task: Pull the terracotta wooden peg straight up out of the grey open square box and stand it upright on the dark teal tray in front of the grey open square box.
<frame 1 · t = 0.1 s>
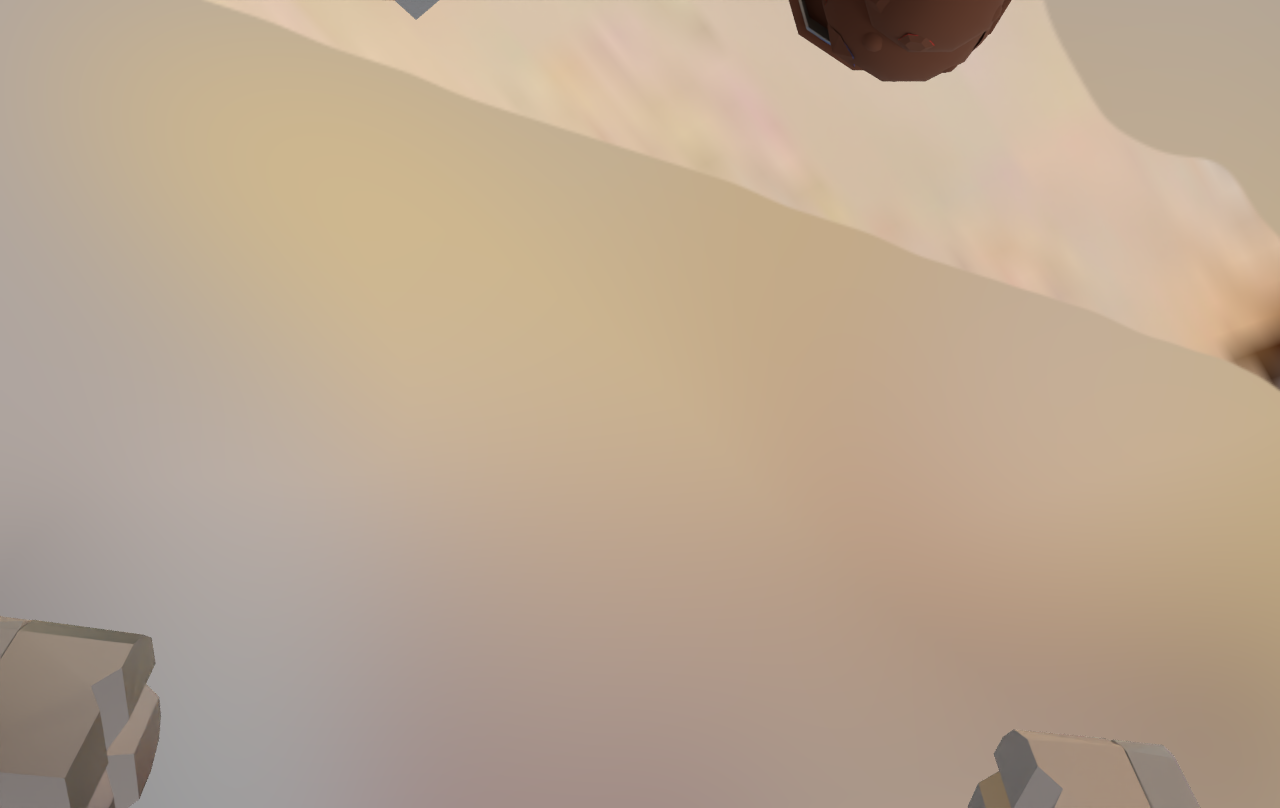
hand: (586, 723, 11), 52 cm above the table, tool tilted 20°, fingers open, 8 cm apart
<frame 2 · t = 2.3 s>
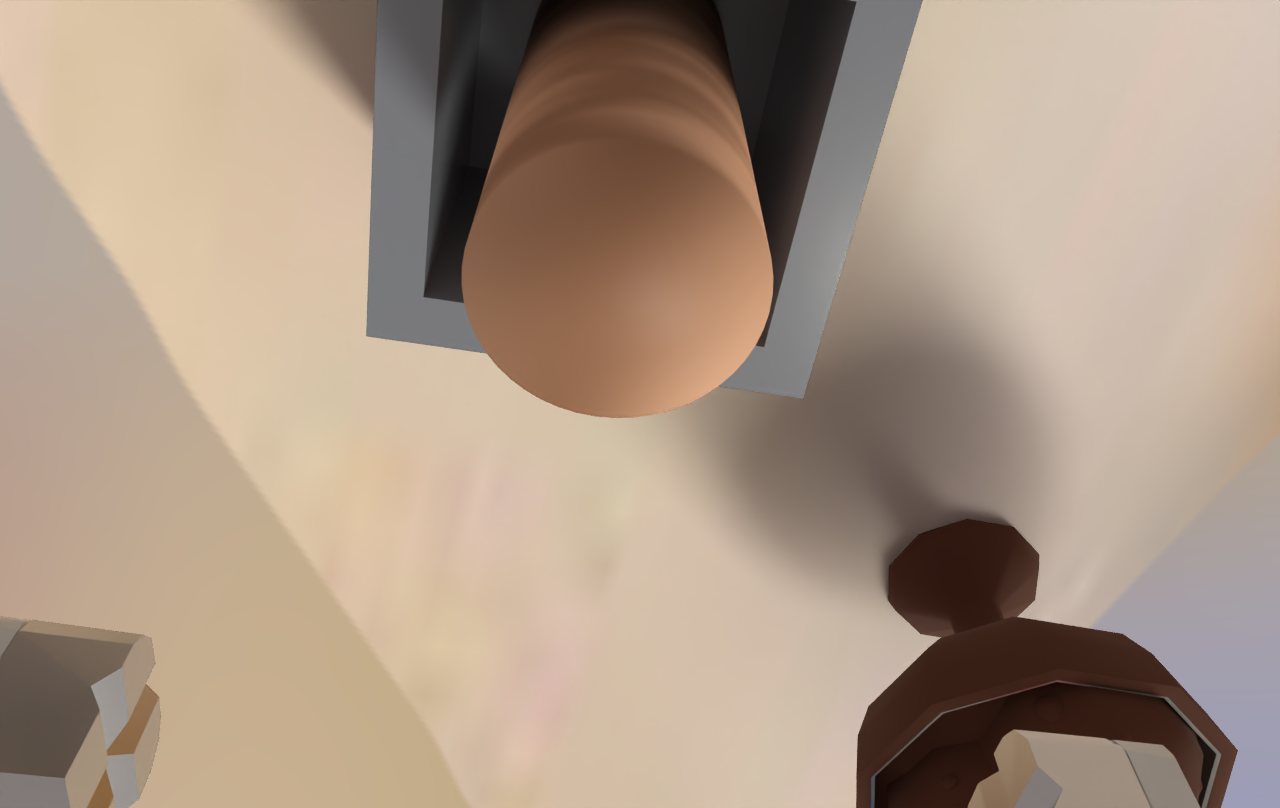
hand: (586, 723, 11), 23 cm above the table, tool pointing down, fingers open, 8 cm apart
ice cream bowl: (961, 574, 40), on the table
grey open square box: (628, 40, 29), on the table
peg: (627, 51, 29), point 1 cm above the table, touching grey open square box
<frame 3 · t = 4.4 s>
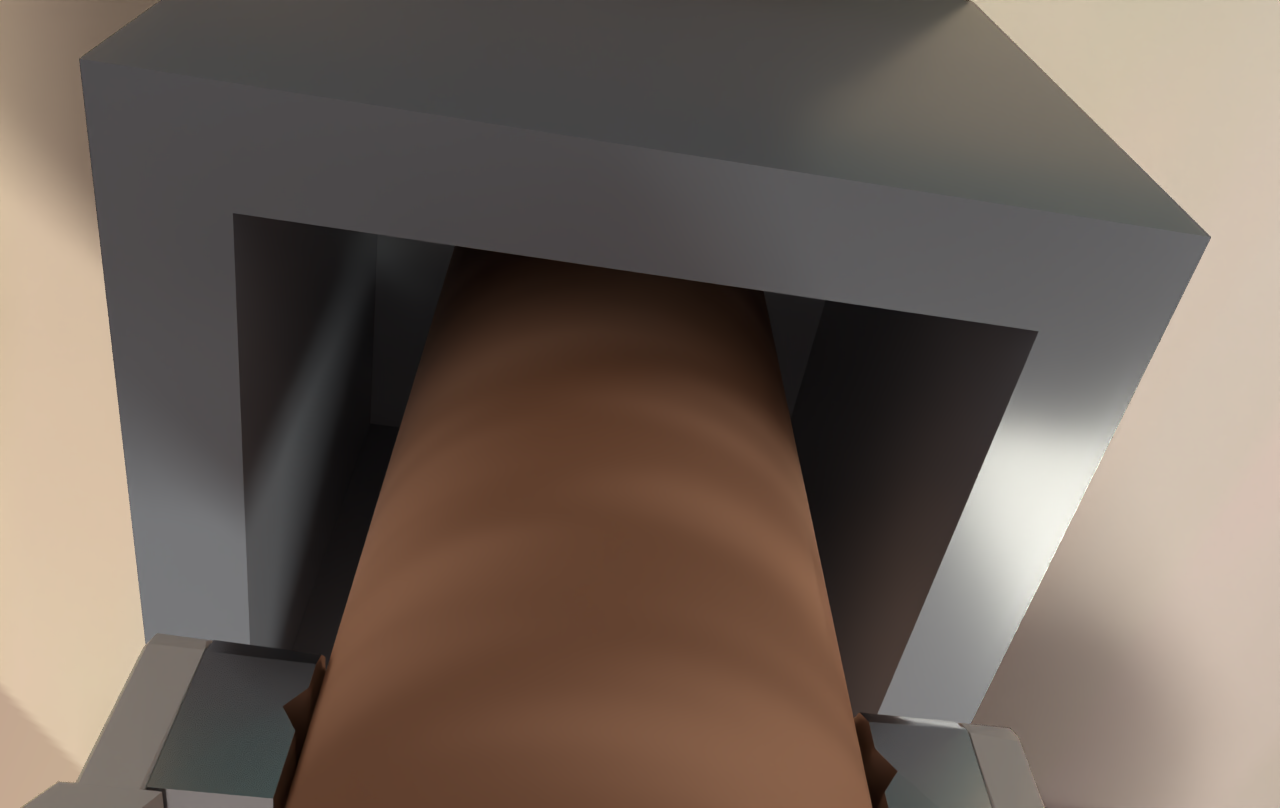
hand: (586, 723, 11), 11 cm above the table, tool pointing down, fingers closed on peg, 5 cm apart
grey open square box: (606, 244, 19), on the table
peg: (605, 270, 19), point 1 cm above the table, touching grey open square box, gripper
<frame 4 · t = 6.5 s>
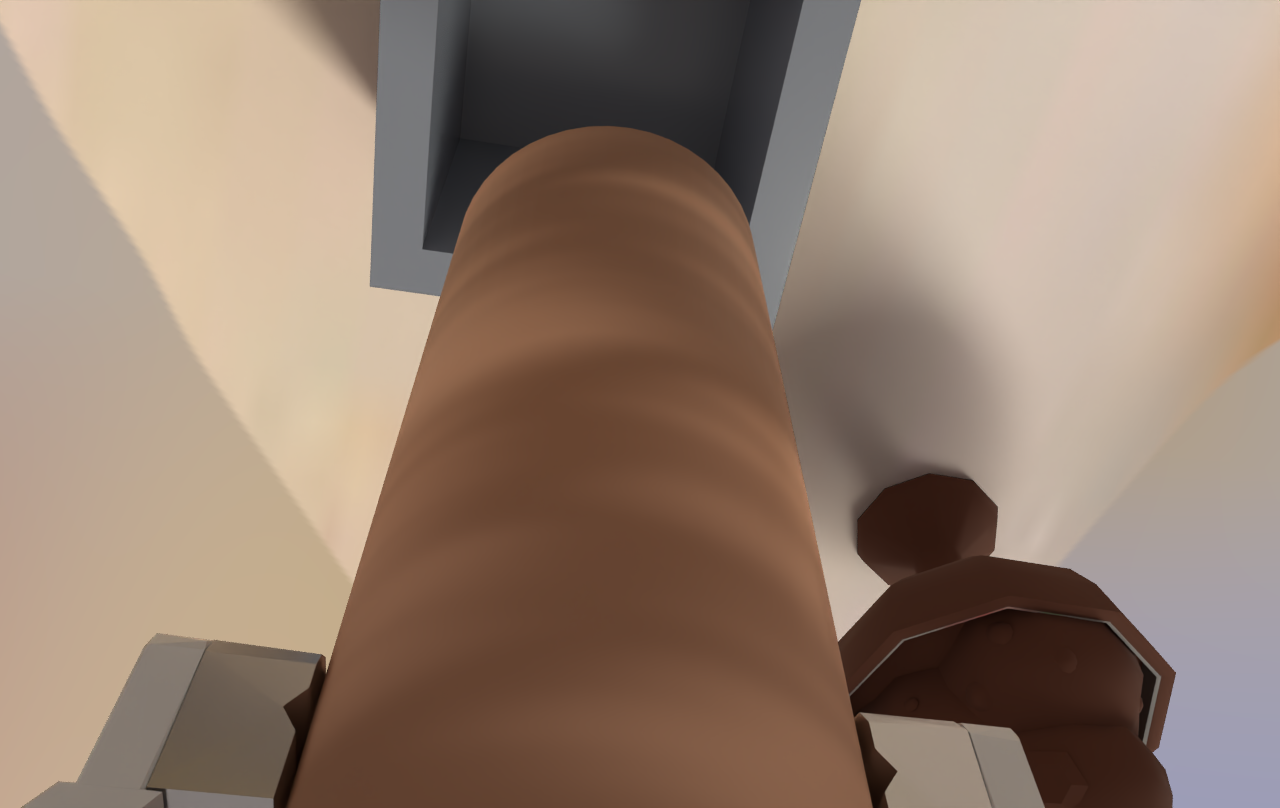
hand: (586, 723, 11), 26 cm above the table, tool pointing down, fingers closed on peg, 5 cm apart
ice cream bowl: (925, 527, 43), on the table
grey open square box: (606, 20, 32), on the table
peg: (606, 270, 19), point 16 cm above the table, touching gripper
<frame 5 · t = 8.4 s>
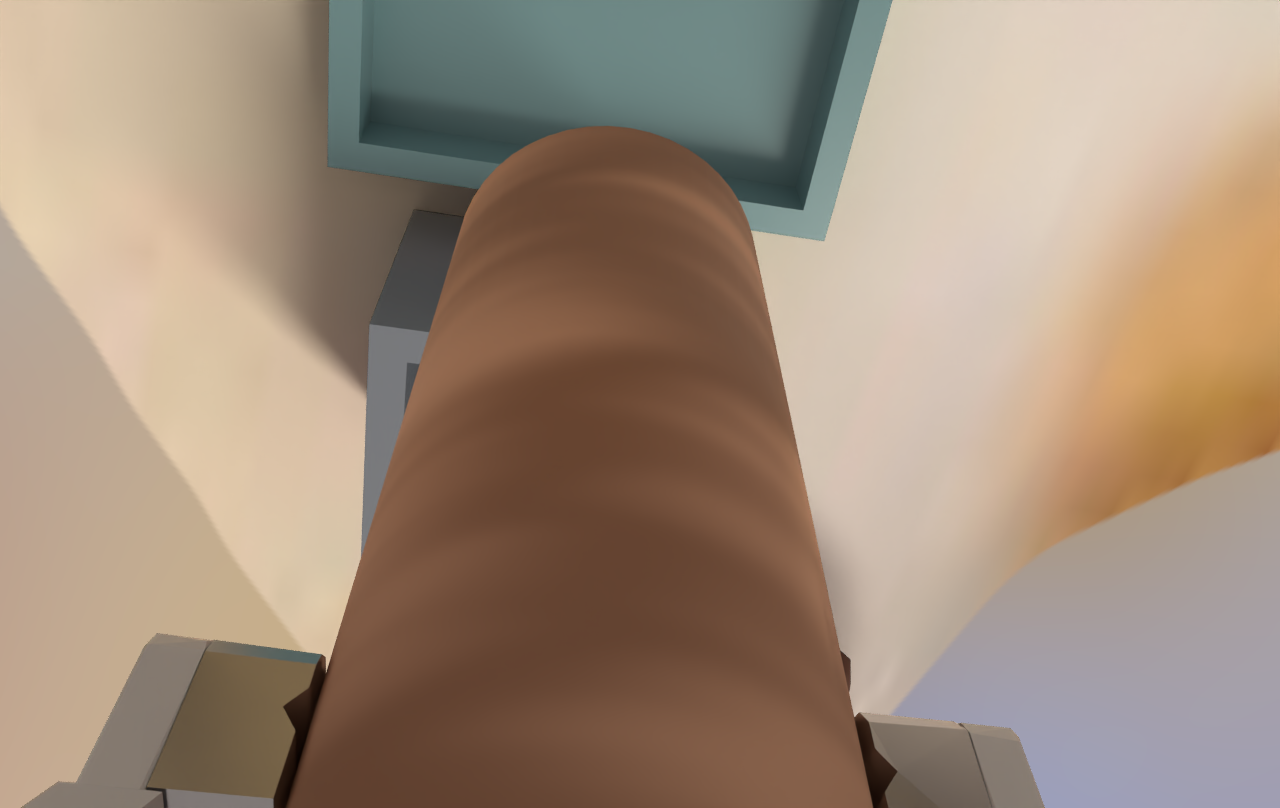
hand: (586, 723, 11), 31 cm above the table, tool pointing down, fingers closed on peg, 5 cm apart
grey open square box: (533, 343, 44), on the table
peg: (606, 270, 19), point 21 cm above the table, touching gripper
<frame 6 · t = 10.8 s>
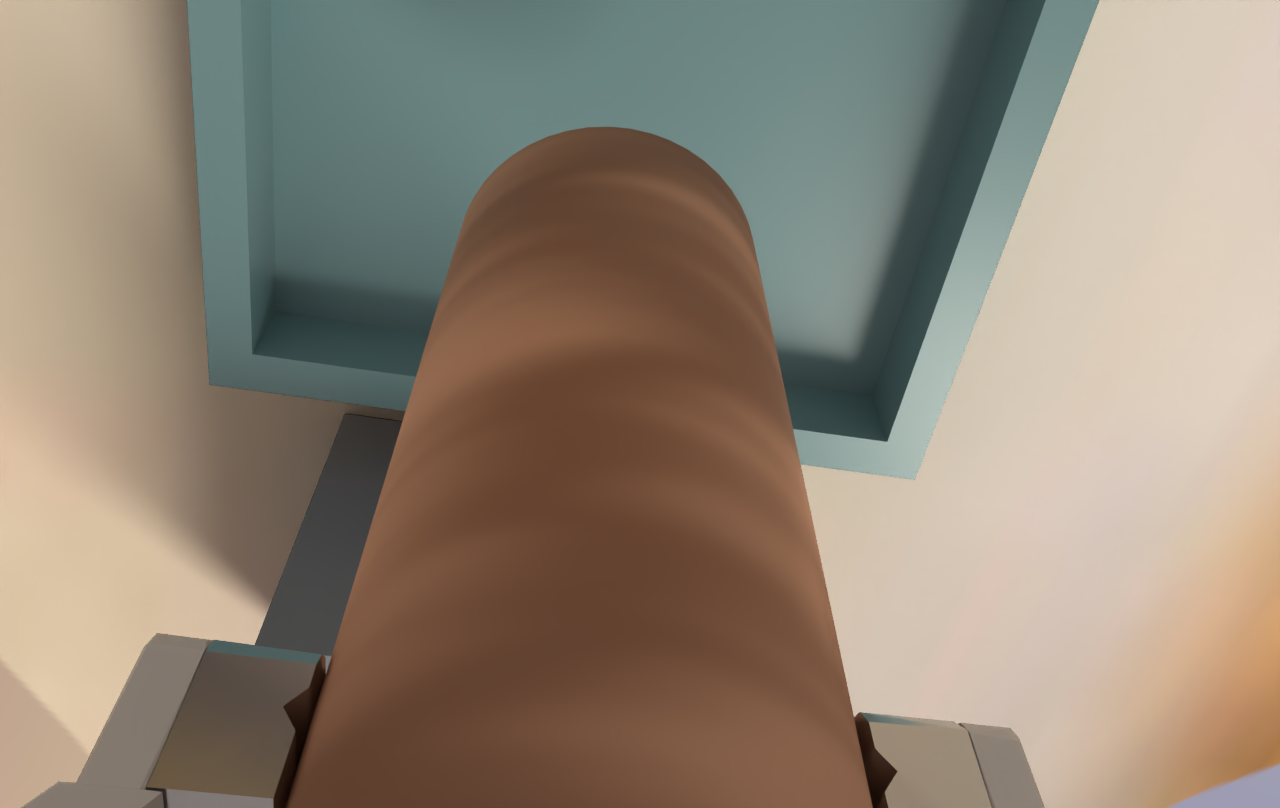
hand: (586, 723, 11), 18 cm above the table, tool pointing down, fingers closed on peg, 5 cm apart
grey open square box: (511, 573, 33), on the table
peg: (606, 270, 19), point 8 cm above the table, touching gripper
tray: (619, 109, 25), on the table
when the fingers open (12 cm above the table, at t = 12.8 s): peg drops 1 cm, resting on tray.
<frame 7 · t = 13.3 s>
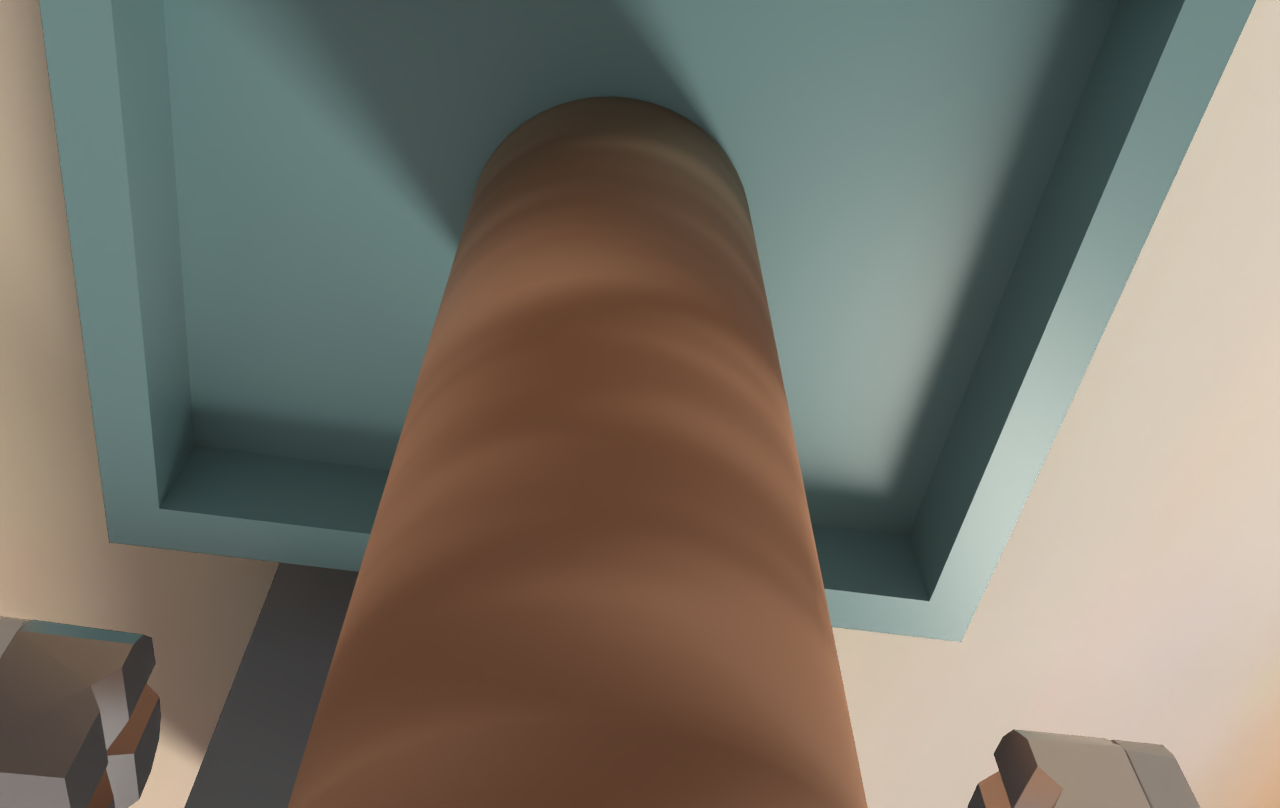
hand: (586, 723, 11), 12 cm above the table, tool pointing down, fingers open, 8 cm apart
grey open square box: (484, 720, 29), on the table
peg: (610, 233, 20), point 1 cm above the table, touching tray
tray: (606, 209, 21), on the table
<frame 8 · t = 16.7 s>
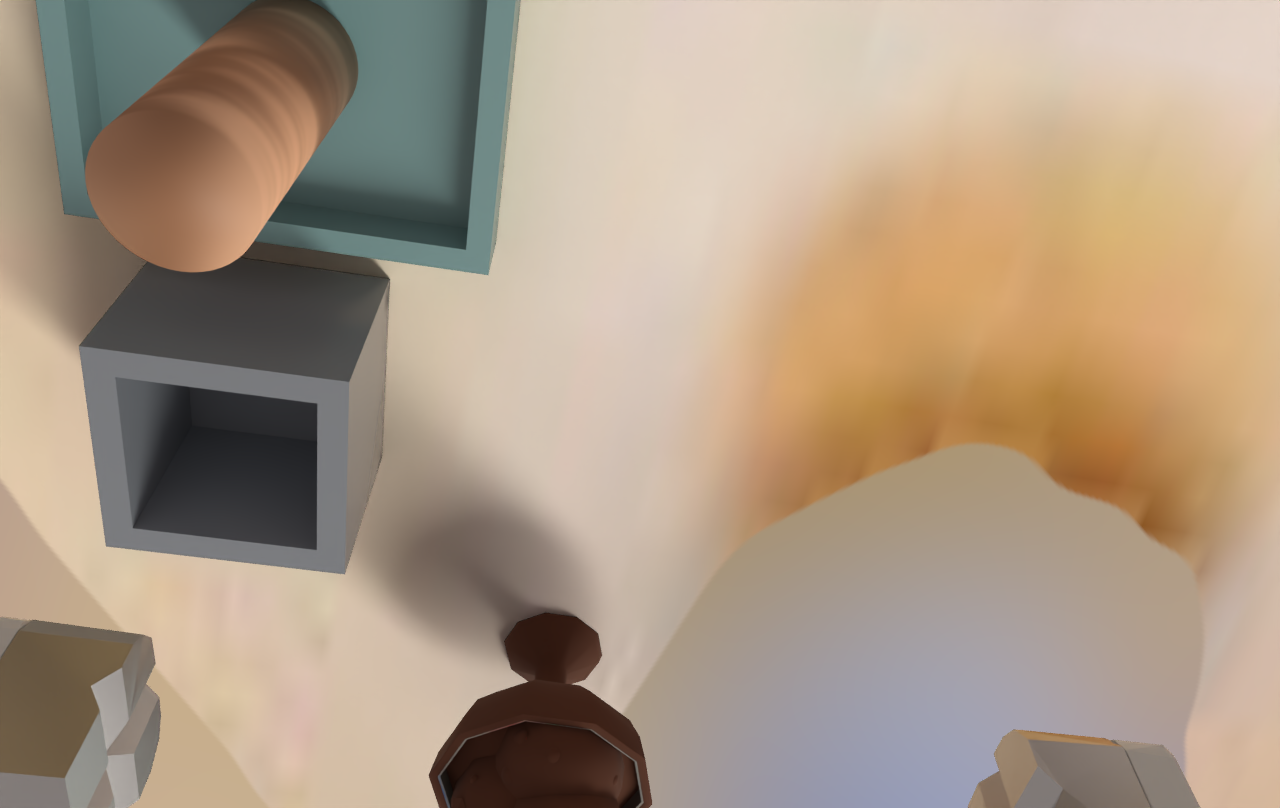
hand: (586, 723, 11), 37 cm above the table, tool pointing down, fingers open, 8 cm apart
ice cream bowl: (553, 645, 63), on the table
grey open square box: (277, 358, 52), on the table
peg: (293, 61, 43), point 1 cm above the table, touching tray
tray: (297, 53, 44), on the table
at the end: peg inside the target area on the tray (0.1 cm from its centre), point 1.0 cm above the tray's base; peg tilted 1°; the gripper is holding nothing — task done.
